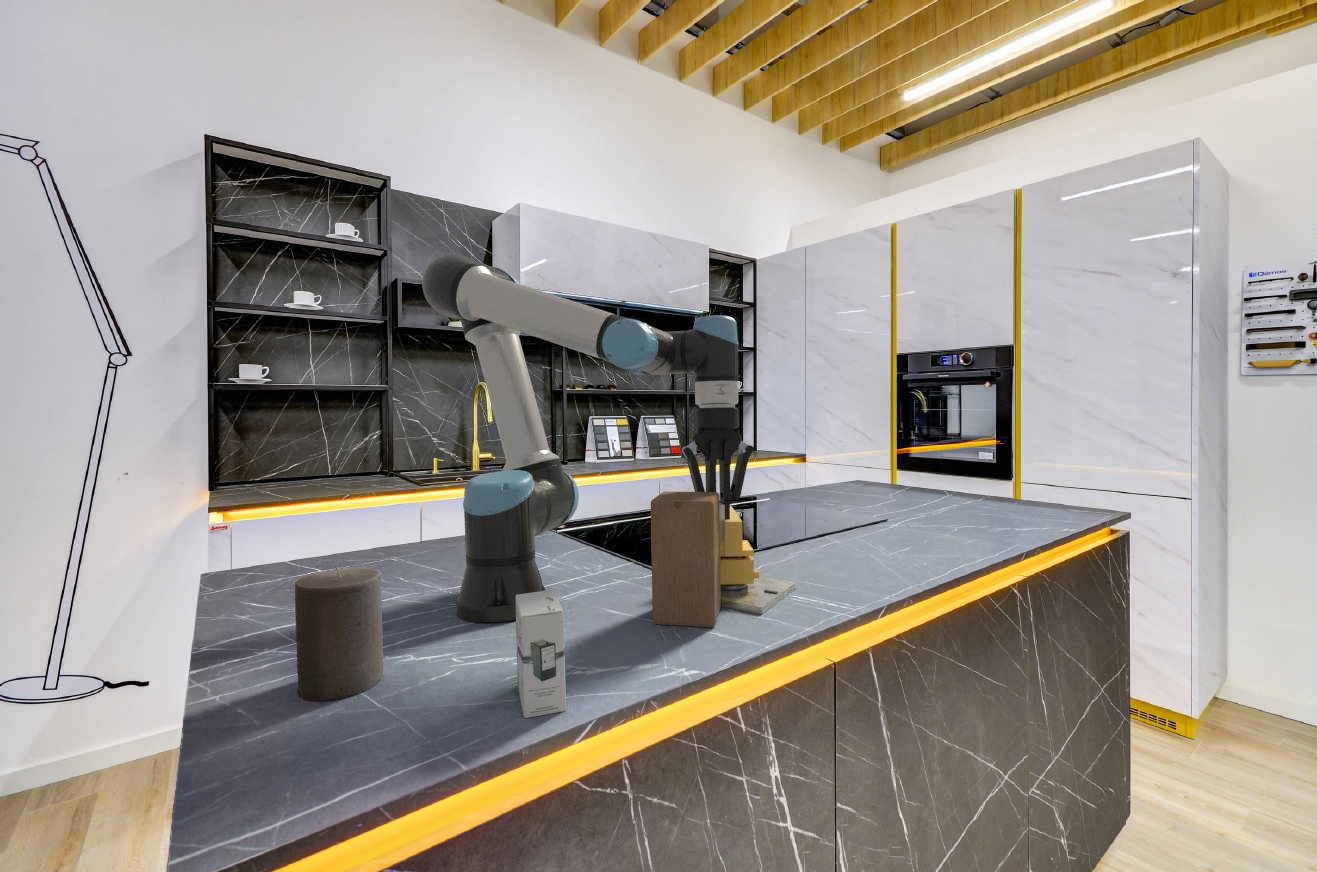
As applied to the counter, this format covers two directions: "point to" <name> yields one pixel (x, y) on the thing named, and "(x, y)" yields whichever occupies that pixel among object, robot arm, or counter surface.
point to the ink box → (540, 653)
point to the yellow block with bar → (736, 554)
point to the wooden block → (685, 558)
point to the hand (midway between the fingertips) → (718, 540)
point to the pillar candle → (338, 633)
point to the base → (755, 593)
